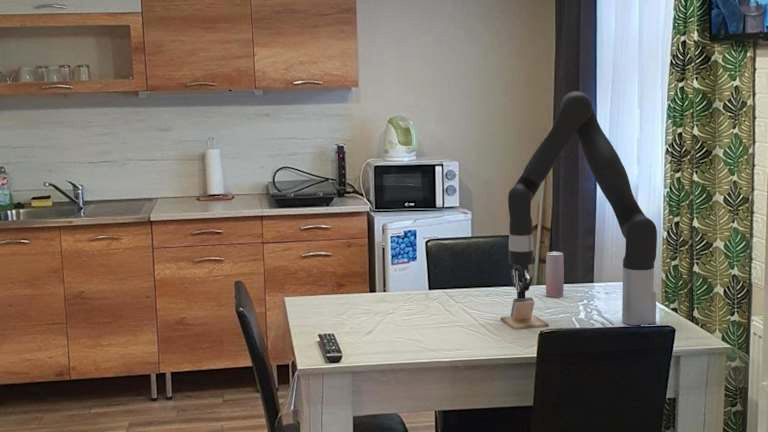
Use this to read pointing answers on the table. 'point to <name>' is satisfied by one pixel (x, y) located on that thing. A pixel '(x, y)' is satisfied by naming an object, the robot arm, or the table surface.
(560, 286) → the beverage can
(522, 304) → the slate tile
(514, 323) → the tan wavy tile
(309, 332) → the table surface
